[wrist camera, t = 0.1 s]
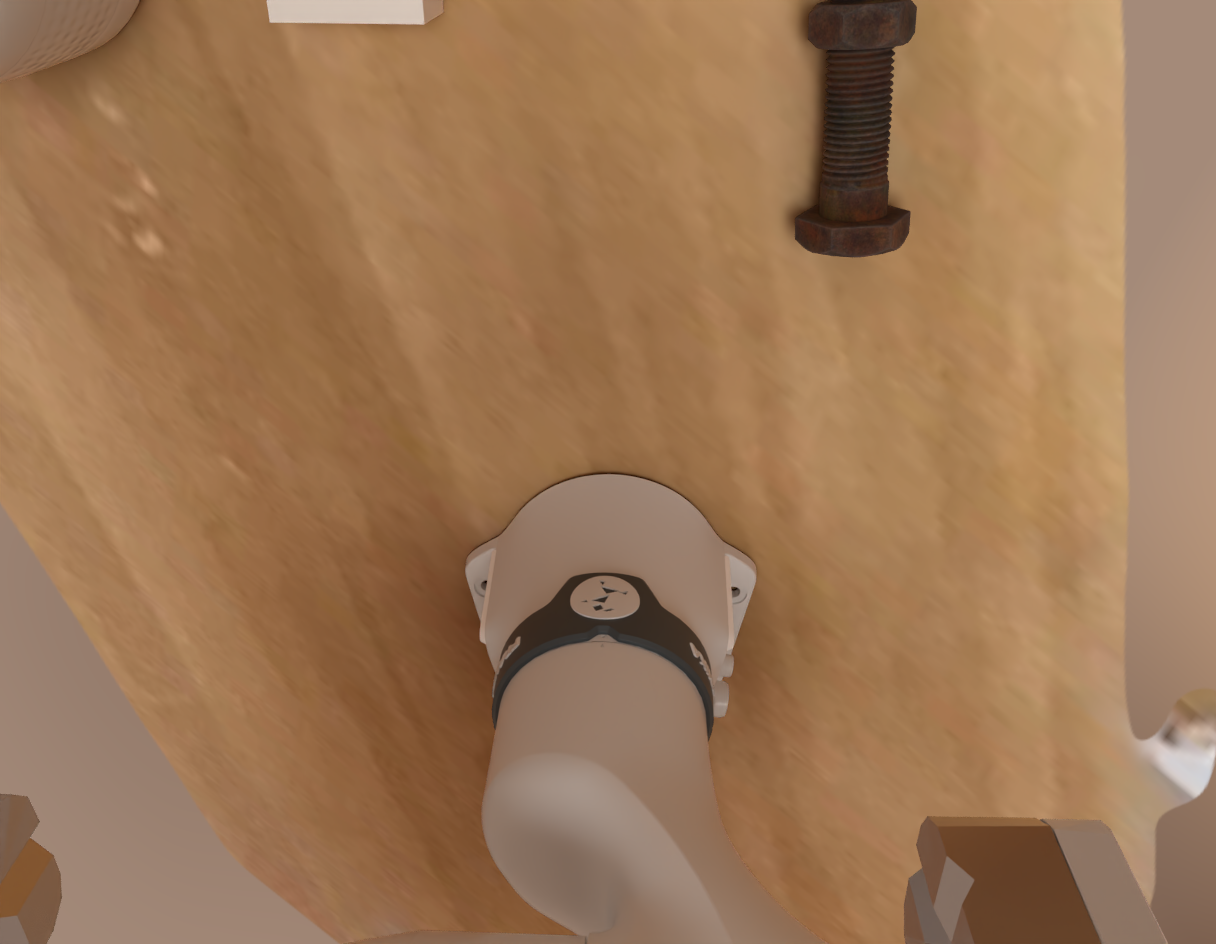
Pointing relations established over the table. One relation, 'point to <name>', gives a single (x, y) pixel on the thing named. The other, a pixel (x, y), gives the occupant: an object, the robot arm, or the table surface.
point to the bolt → (857, 128)
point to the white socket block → (354, 11)
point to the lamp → (55, 31)
